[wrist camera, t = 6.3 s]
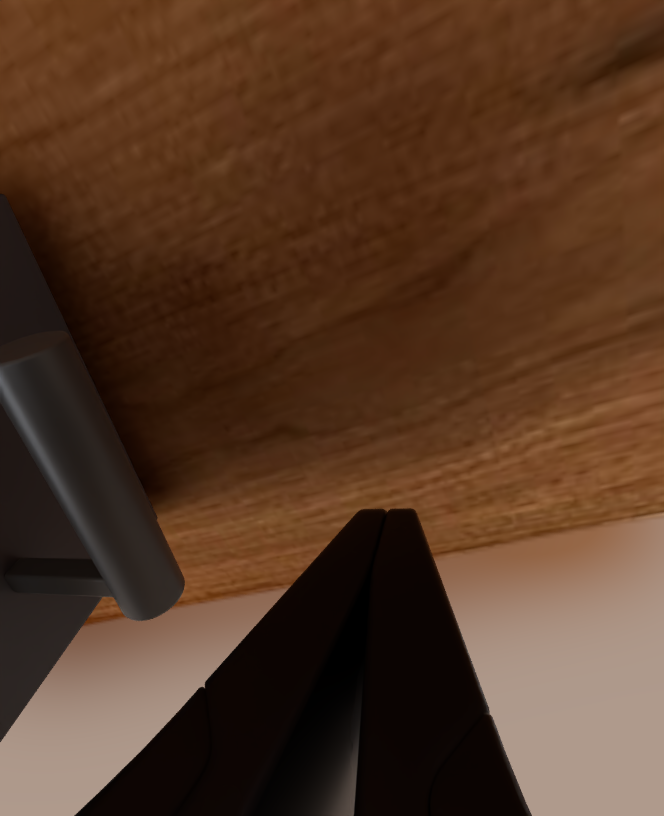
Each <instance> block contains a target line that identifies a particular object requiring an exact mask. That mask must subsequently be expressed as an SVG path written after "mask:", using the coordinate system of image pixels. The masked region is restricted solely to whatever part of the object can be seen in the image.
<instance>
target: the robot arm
mask: <svg viewBox="0 0 664 816" xmlns="http://www.w3.org/2000/svg"><path fill="white" fill-rule="evenodd" d="M75 816H532V815H531V813H530V811H529V808H528V806H527V804H526V802H525V799H524V797H523V795H522V792H521V789H520V787H519V784H518V782H517V779H516V777H515V775H514V772H513V770H512V768H511V765H510V762H509V760H508V757H507V755H506V752H505V750H504V747H503V744H502V742H501V739H500V736H499V734H498V731H497V728H496V725H495V723H494V720H493V718H492V716H491V715H490V714H489V707H488V705H487V702H486V699H485V697H484V694H483V691H482V688H481V686H480V683H479V680H478V678H477V675H476V672H475V669H474V667H473V664H472V661H471V659H470V656H469V653H468V651H467V648H466V645H465V642H464V640H463V637H462V634H461V632H460V629H459V626H458V623H457V621H456V618H455V615H454V613H453V610H452V607H451V605H450V602H449V599H448V596H447V594H446V591H445V589H444V586H443V583H442V580H441V578H440V575H439V572H438V569H437V567H436V564H435V561H434V559H433V556H432V553H431V550H430V548H429V545H428V542H427V540H426V537H425V534H424V531H423V529H422V526H421V523H420V521H419V518H418V515H417V513H416V511H415V510H414V509H411V508H409V509H390V510H389V511H388V512H387V511H386V510H384V509H362V510H360V511H358V512H357V513H356V514H355V515H354V516H353V518H352V519H351V520H350V521H349V522H348V523H347V524H346V525H345V527H344V528H343V529H342V530H341V531H340V532H339V533H338V534H337V535H336V537H335V538H334V539H333V540H332V541H331V542H330V543H329V544H328V545H327V547H326V548H325V549H324V550H323V551H322V552H321V553H320V554H319V556H318V557H317V558H316V559H315V560H314V561H313V562H312V563H311V564H310V566H309V567H308V568H307V569H306V570H305V571H304V572H303V573H302V574H301V576H300V577H299V578H298V579H297V580H296V581H295V582H294V583H293V585H292V586H291V587H290V588H289V589H288V590H287V591H286V592H285V594H284V595H283V596H282V597H281V598H280V599H279V600H278V601H277V603H275V605H274V606H273V607H272V608H271V609H270V610H269V611H268V612H267V614H266V615H265V616H264V617H263V618H262V619H261V620H260V621H259V623H258V624H257V625H256V626H255V627H254V628H253V629H252V630H251V631H250V632H249V634H248V635H247V636H246V637H245V638H244V639H243V640H242V641H241V643H240V644H239V645H238V646H237V647H236V648H235V649H234V650H233V651H232V653H231V654H230V655H229V656H228V657H227V658H226V659H225V660H224V661H223V663H222V664H221V665H220V666H219V667H218V668H217V670H215V672H214V673H213V674H212V675H211V676H210V677H209V678H208V679H207V681H206V682H205V688H204V687H200V688H199V689H198V690H197V691H196V693H194V695H193V696H192V697H191V698H190V699H189V700H188V701H187V702H186V704H185V705H184V706H183V707H182V708H181V709H180V710H179V711H178V712H177V713H176V715H175V716H174V717H173V718H172V719H171V720H170V721H169V722H168V723H167V724H166V725H165V726H164V728H162V730H161V731H160V732H159V733H158V734H157V735H156V736H155V737H154V738H153V739H152V740H151V741H150V742H149V743H148V744H147V746H146V747H145V748H144V749H143V750H142V751H141V752H140V753H139V754H138V755H137V756H136V757H135V758H134V759H133V760H132V761H130V762H129V763H128V764H127V766H125V767H124V768H123V769H122V770H121V771H120V772H119V773H118V774H117V775H116V776H115V777H114V778H113V779H112V780H111V781H110V782H109V783H108V784H107V785H106V786H105V787H104V788H103V789H102V790H101V791H100V792H99V793H98V794H97V795H96V796H95V797H94V798H93V799H92V800H90V801H89V802H88V803H87V804H86V805H85V806H84V807H83V808H82V809H81V810H80V811H79V812H78V813H77V814H76V815H75Z"/></svg>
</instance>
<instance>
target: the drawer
mask: <svg viewBox="0 0 664 816" xmlns="http://www.w3.org/2000/svg"><path fill="white" fill-rule="evenodd" d="M184 585H185V580H184V577H183V575H182V572H181V570H180V568H179V566H178V564H177V562H176V560H175V558H174V556H173V553H172V551H171V549H170V547H169V545H168V543H167V541H166V539H165V537H164V534H163V532H162V530H161V528H160V526H159V524H158V522H157V516H156V513H155V511H154V509H153V507H152V505H151V503H150V501H149V499H148V497H147V494H146V492H145V490H144V488H143V486H142V484H141V482H140V480H139V477H138V475H137V473H136V471H135V469H134V467H133V465H132V463H131V461H130V458H129V456H128V454H127V452H126V450H125V448H124V446H123V444H122V441H121V439H120V437H119V435H118V433H117V431H116V429H115V427H114V424H113V422H112V420H111V418H110V416H109V414H108V412H107V410H106V408H105V405H104V403H103V401H102V399H101V397H100V395H99V393H98V391H97V388H96V386H95V384H94V382H93V380H92V378H91V376H90V374H89V372H88V369H87V367H86V365H85V363H84V361H83V359H82V357H81V355H80V352H79V350H78V348H77V346H76V344H75V342H74V340H73V338H72V336H71V333H70V331H69V329H68V327H67V325H66V323H65V321H64V319H63V316H62V314H61V312H60V310H59V308H58V306H57V304H56V302H55V300H54V297H53V295H52V293H51V291H50V289H49V287H48V285H47V283H46V280H45V278H44V276H43V274H42V272H41V270H40V268H39V266H38V264H37V261H36V259H35V257H34V255H33V253H32V251H31V249H30V247H29V244H28V242H27V240H26V238H25V236H24V234H23V232H22V230H21V227H20V225H19V223H18V221H17V219H16V217H15V215H14V213H13V211H12V208H11V206H10V204H9V202H8V200H7V198H6V196H5V195H4V194H0V742H1V741H2V739H3V738H4V736H5V735H6V733H7V732H8V731H9V729H10V728H11V726H12V725H13V724H14V722H15V721H16V719H17V718H18V716H19V715H20V714H21V712H22V711H23V709H24V708H25V706H26V705H27V703H28V702H29V701H30V699H31V698H32V696H33V695H34V693H35V692H36V691H37V689H38V688H39V687H40V685H41V684H42V682H43V681H44V679H45V678H46V677H47V675H48V674H49V672H50V671H51V669H52V668H53V666H54V665H55V664H56V662H57V661H58V660H59V658H60V657H61V655H62V654H63V652H64V651H65V650H66V648H67V646H68V645H69V644H70V642H71V641H72V640H73V638H74V637H75V635H76V634H77V633H78V631H79V630H80V628H81V627H82V625H83V624H84V623H85V621H86V620H87V618H88V617H89V615H90V614H91V613H92V611H93V610H94V608H95V607H96V606H97V604H98V603H99V601H100V600H101V598H102V597H114V599H115V600H116V602H117V604H118V606H119V607H120V609H121V611H122V612H123V614H124V615H125V616H126V617H127V618H129V619H132V620H136V621H143V620H149V619H153V618H155V617H158V616H160V615H161V614H163V613H165V612H166V611H168V610H169V609H170V608H171V607H172V606H174V604H175V603H176V602H177V601H178V600H179V598H180V597H181V595H182V593H183V590H184Z"/></svg>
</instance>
